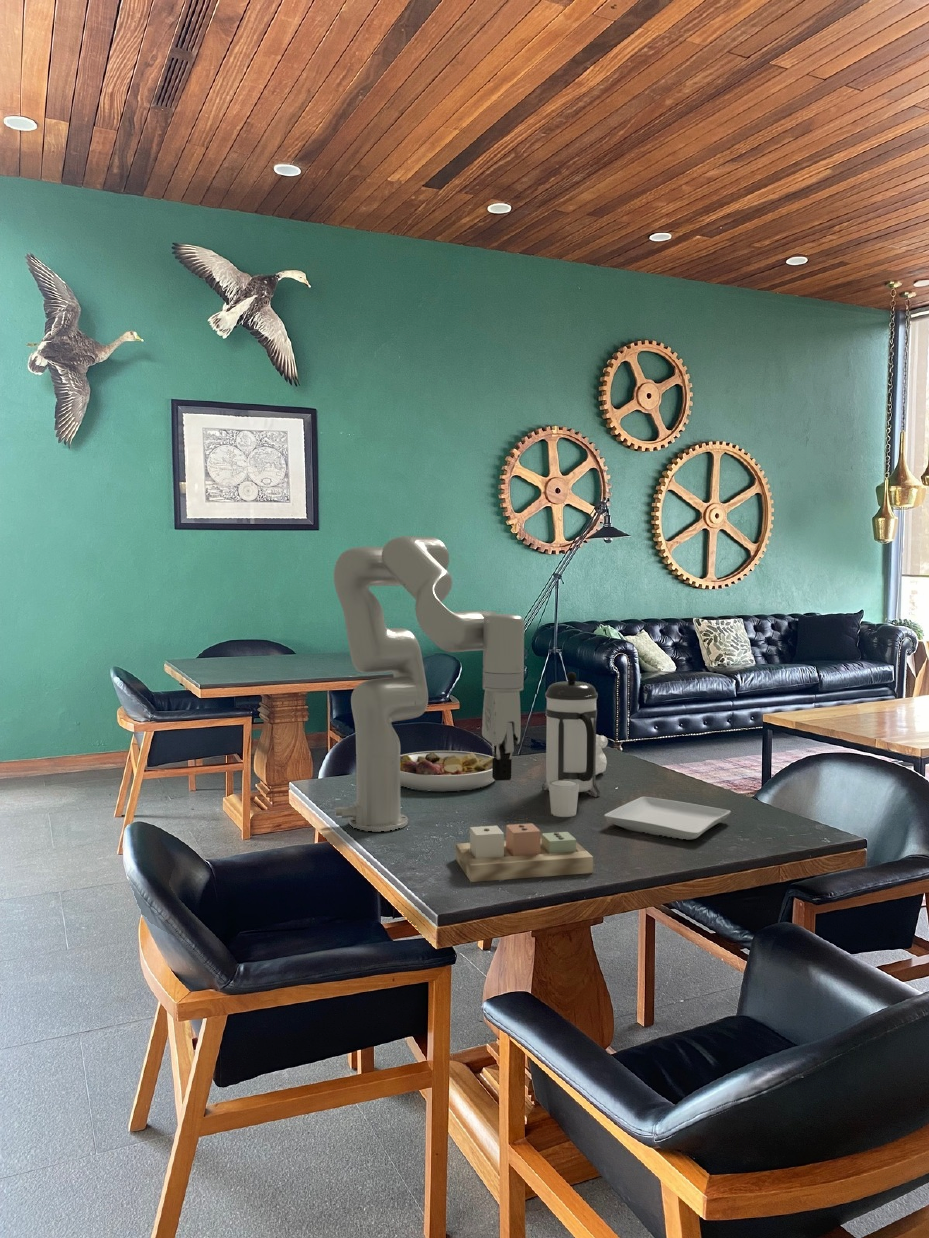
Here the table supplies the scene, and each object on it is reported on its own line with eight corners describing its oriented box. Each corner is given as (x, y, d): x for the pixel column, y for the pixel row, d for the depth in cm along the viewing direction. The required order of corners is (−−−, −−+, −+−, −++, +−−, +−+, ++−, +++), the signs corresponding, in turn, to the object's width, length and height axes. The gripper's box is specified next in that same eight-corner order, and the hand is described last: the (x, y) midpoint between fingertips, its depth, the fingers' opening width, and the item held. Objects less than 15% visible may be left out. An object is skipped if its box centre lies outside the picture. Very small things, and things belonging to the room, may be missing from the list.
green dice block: (549, 867, 173) (549, 840, 173) (541, 859, 178) (541, 832, 178) (576, 865, 174) (576, 838, 174) (567, 857, 179) (567, 830, 179)
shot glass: (577, 818, 207) (577, 787, 207) (546, 816, 208) (547, 785, 208) (580, 810, 214) (580, 780, 213) (550, 808, 215) (550, 778, 215)
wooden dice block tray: (470, 881, 166) (470, 865, 166) (455, 859, 179) (455, 843, 179) (593, 872, 171) (593, 856, 171) (570, 851, 184) (570, 836, 183)
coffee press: (526, 795, 227) (527, 673, 225) (557, 783, 240) (558, 667, 238) (591, 806, 217) (592, 678, 215) (620, 792, 230) (621, 671, 228)
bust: (603, 785, 246) (628, 751, 247) (582, 769, 244) (607, 734, 245) (585, 775, 258) (608, 742, 259) (565, 760, 256) (588, 727, 257)
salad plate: (732, 823, 204) (732, 808, 204) (697, 848, 187) (698, 831, 187) (642, 809, 216) (642, 794, 216) (601, 830, 199) (601, 814, 199)
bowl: (410, 765, 262) (410, 737, 261) (513, 772, 253) (513, 744, 252) (366, 790, 233) (366, 759, 233) (481, 799, 224) (481, 767, 224)
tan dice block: (513, 859, 172) (513, 831, 171) (505, 850, 177) (506, 823, 176) (540, 857, 173) (540, 829, 172) (532, 849, 178) (532, 822, 178)
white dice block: (476, 862, 170) (476, 834, 170) (469, 853, 175) (469, 826, 175) (503, 860, 171) (503, 832, 171) (496, 851, 176) (496, 824, 176)
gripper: (473, 676, 178) (471, 771, 179) (494, 687, 164) (493, 790, 165) (510, 675, 180) (509, 769, 181) (535, 686, 166) (533, 788, 167)
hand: (501, 779), depth 173 cm, fingers closed
